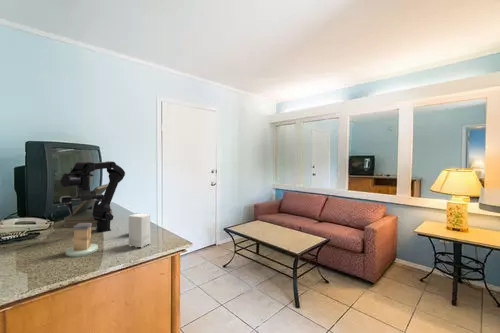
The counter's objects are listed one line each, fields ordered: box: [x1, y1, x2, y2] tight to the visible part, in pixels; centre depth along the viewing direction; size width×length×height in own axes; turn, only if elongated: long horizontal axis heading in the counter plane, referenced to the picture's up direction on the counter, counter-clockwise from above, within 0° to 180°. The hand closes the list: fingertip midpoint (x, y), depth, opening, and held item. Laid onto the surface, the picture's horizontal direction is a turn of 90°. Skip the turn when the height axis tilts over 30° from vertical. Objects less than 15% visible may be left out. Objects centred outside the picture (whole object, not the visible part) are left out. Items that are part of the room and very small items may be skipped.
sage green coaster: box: [65, 243, 99, 258], centre depth 107 cm, size 12×12×2 cm
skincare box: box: [128, 212, 151, 248], centre depth 116 cm, size 8×7×16 cm
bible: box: [63, 183, 113, 228], centre depth 155 cm, size 23×20×25 cm
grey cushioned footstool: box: [73, 223, 93, 251], centre depth 106 cm, size 5×5×11 cm
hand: (82, 214), depth 124 cm, fingers open, 9 cm apart
